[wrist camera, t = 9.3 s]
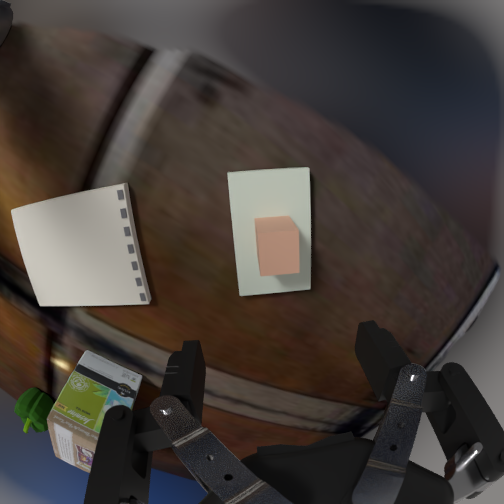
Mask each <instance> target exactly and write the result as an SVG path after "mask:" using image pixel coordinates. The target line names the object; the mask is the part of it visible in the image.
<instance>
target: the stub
mask: <svg viewBox="0 0 504 504" xmlns="http://www.w3.org/2000/svg"><path fill="white" fill-rule="evenodd" d="M227 174H228V185H229V195H230V206H231V216H232V227H233V237H234V247H235V256H236V266H237V275H238V285H239V294H240V296H246V295H257V294H268V293H279V292H289V291H299V290H308V289H310V288H311V208H310V174H309V168H307V167H303V168H282V169H265V170H251V171H239V172H228V173H227Z"/></svg>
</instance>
